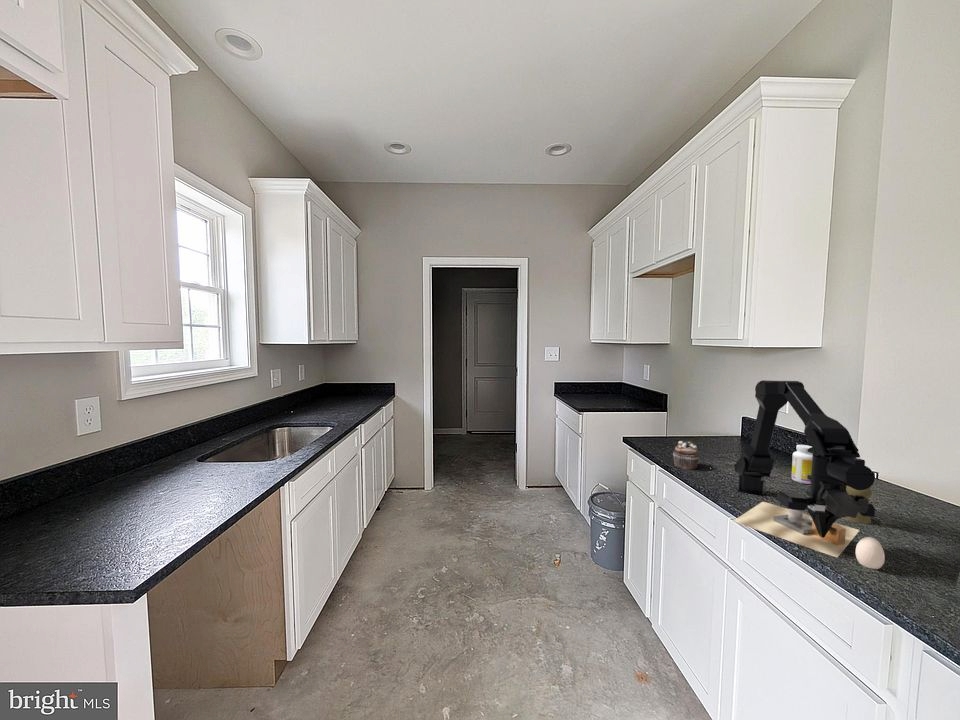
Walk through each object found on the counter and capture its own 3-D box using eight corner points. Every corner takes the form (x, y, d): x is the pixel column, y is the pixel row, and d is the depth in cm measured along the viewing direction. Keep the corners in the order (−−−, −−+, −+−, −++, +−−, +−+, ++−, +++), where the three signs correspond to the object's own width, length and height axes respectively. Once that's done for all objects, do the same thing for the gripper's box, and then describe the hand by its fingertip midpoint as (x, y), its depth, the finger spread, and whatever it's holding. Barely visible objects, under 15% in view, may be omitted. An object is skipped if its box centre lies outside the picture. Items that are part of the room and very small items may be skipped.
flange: (773, 520, 109) (774, 506, 109) (795, 517, 111) (796, 503, 111) (829, 547, 96) (830, 531, 96) (852, 542, 98) (854, 527, 98)
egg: (868, 563, 91) (870, 532, 91) (889, 575, 86) (892, 542, 86) (848, 563, 91) (850, 532, 90) (869, 575, 86) (871, 543, 86)
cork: (841, 515, 115) (843, 478, 114) (870, 521, 111) (872, 483, 110) (842, 523, 110) (845, 484, 110) (873, 530, 107) (875, 490, 106)
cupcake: (668, 462, 163) (669, 438, 162) (692, 462, 163) (693, 438, 162) (679, 469, 153) (679, 444, 153) (704, 470, 153) (705, 445, 152)
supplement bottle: (819, 483, 140) (821, 447, 139) (807, 485, 138) (810, 449, 137) (798, 476, 146) (800, 443, 145) (786, 479, 144) (788, 444, 143)
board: (732, 524, 109) (733, 507, 109) (762, 504, 122) (763, 488, 122) (837, 561, 91) (838, 540, 91) (859, 533, 104) (860, 515, 104)
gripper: (805, 483, 91) (800, 548, 92) (898, 490, 88) (893, 558, 89) (777, 468, 102) (773, 527, 103) (859, 474, 99) (855, 535, 100)
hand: (821, 536), depth 98 cm, fingers closed
